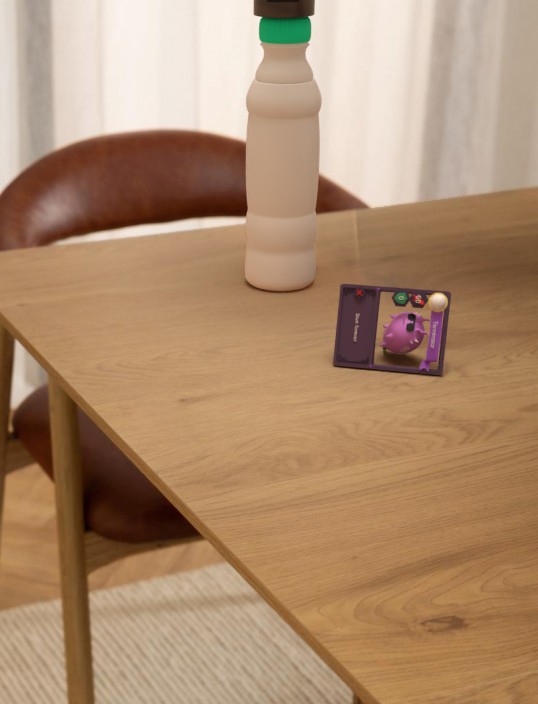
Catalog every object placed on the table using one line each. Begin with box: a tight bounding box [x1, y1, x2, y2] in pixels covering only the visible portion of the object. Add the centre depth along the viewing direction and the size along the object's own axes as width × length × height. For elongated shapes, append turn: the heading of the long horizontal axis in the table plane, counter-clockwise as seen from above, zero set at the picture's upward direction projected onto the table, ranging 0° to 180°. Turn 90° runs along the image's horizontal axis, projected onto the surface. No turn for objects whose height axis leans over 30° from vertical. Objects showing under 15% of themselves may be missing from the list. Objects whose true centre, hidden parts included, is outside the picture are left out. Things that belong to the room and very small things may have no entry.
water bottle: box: [244, 16, 322, 292], centre depth 113 cm, size 7×7×25 cm
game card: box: [332, 283, 452, 376], centre depth 99 cm, size 7×5×9 cm
